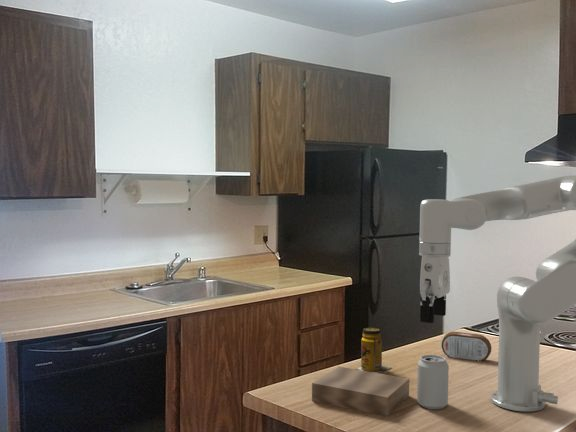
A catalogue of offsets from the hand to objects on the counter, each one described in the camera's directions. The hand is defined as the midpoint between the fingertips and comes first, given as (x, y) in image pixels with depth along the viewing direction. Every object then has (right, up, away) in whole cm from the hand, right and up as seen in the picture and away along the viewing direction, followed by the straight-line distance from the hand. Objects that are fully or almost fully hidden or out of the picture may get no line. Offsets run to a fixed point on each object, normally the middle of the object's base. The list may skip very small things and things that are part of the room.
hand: (433, 318), depth 148 cm
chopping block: (-17, -22, +6) cm, 28 cm away
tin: (+20, -20, +40) cm, 49 cm away
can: (0, -22, +1) cm, 22 cm away
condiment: (-10, -20, +31) cm, 38 cm away
